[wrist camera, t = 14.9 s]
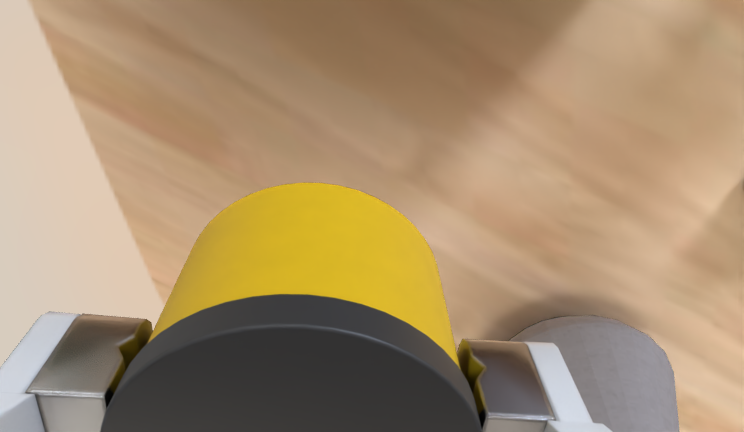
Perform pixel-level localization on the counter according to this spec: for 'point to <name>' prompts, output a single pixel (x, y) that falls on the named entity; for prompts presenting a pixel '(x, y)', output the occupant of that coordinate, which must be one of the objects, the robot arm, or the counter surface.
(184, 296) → the jar
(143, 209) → the counter surface
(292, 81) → the counter surface
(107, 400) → the robot arm
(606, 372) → the coffee pot
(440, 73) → the counter surface
